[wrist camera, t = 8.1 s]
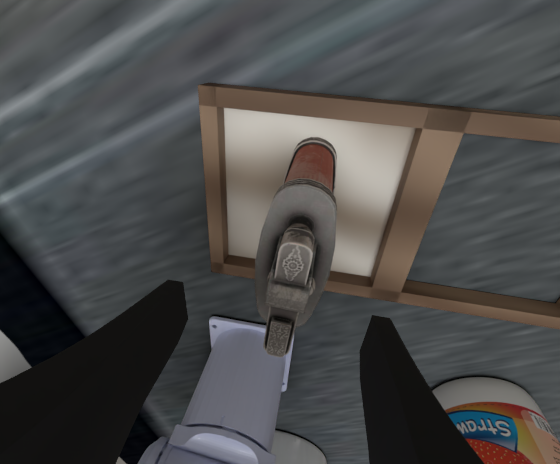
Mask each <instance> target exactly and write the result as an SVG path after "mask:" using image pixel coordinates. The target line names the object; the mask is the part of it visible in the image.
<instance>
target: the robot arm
mask: <svg viewBox="0 0 560 464" xmlns="http://www.w3.org/2000/svg"><path fill="white" fill-rule="evenodd" d="M187 320H188V315H187V308H186V301H185V293H184V286H183V282H178V281H172V280H167V281H166V282H164V283H163V284H162V285H160V286H159V287H157V288H156V289H155V290H153V291H152V292H151V293H149V294H148V295H147V296H145V297H144V298H143V299H141V300H140V301H138V302H137V303H136V304H134V305H133V306H132V307H130V308H129V309H127V310H126V311H125V312H123V313H122V314H120V315H119V316H118V317H116V318H115V319H113V320H112V321H110V322H109V323H107V324H106V325H104V326H103V327H101V328H100V329H98V330H97V331H95V332H94V333H92V334H91V335H89V336H88V337H86V338H84V339H83V340H81V341H79V342H78V343H76V344H74V345H73V346H71V347H69V348H67V349H66V350H64V351H62V352H60V353H59V354H57V355H55V356H53V357H52V358H50V359H48V360H46V361H44V362H42V363H40V364H38V365H36V366H34V367H32V368H30V369H28V370H26V371H24V372H22V373H20V374H19V375H17V376H15V377H13V378H11V379H9V380H6V381H4V382H2V383H0V464H116V462H117V459H118V457H119V455H120V453H121V450H122V448H123V446H124V443H125V441H126V439H127V437H128V435H129V432H130V430H131V428H132V426H133V424H134V422H135V420H136V417H137V415H138V413H139V411H140V409H141V407H142V405H143V403H144V402H145V400H146V398H147V396H148V394H149V393H150V391H151V389H152V387H153V386H154V384H155V382H156V381H157V379H158V377H159V375H160V374H161V372H162V370H163V368H164V367H165V365H166V363H167V361H168V360H169V358H170V356H171V354H172V353H173V351H174V349H175V347H176V345H177V344H178V341H179V339H180V337H181V335H182V332H183V330H184V327H185V325H186V322H187ZM209 327H210V338H211V349H212V351H211V353H210V356H209V358H208V360H207V363H206V365H205V368H204V370H203V372H202V375H201V377H200V380H199V382H198V384H197V387H196V389H195V391H194V394H193V396H192V399H191V401H190V403H189V406H188V408H187V411H186V413H185V415H184V418H183V420H182V423H181V425H178V424H177V425H176V426H175V428H174V430H173V433H172V435H171V437H170V439H169V438H166V437H161V438H159V439H158V440H157V441H156V442H154V443H153V444H151V445H150V446H149V447H148V448H147V449H146V451H145V452H144V454H143V456H142V457H141V459H140V461H139V462H138V464H275V460H276V455H274V454H271V451H272V445H273V439H274V433H275V427H276V421H277V415H278V408H279V402H280V396H281V391H286V388H287V381H288V375H289V368H290V361H291V354H292V347H293V340H294V335H293V339H292V343H291V347H290V351H289V353H288V354H287V355H284V356H283V357H275V356H271V355H269V354H267V352H266V351H265V349H264V348H263V343H264V337H265V331H266V325H260V324H255V323H249V322H244V321H238V320H233V319H227V318H222V317H216V316H213V317H211V318H210V320H209ZM360 383H361V391H362V400H363V408H364V416H365V425H366V433H367V441H368V450H369V462H370V464H484V462H483V461H482V460H481V458H480V457H479V456H478V455H477V453H476V452H475V451H474V450H473V448H472V447H471V446H470V444H469V443H468V442H467V440H466V439H465V438H464V436H463V435H462V434H461V432H460V431H459V430H458V428H457V427H456V426H455V424H454V423H453V421H452V420H451V419H450V417H449V416H448V414H447V413H446V411H445V410H444V409H443V407H442V406H441V404H440V403H439V401H438V400H437V398H436V397H435V395H434V394H433V392H432V390H431V389H430V387H429V386H428V384H427V383H426V381H425V379H424V378H423V376H422V374H421V373H420V371H419V369H418V368H417V366H416V364H415V363H414V361H413V359H412V358H411V356H410V354H409V352H408V351H407V349H406V347H405V345H404V343H403V341H402V340H401V338H400V336H399V334H398V332H397V330H396V328H395V326H394V324H393V323H392V321H391V319H390V318H385V317H379V316H374V315H372V318H371V321H370V323H369V326H368V329H367V332H366V335H365V338H364V341H363V343H362V346H361V349H360Z"/></svg>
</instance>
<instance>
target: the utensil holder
mask: <svg viewBox="0 0 560 464" xmlns="http://www.w3.org/2000/svg"><path fill="white" fill-rule="evenodd" d="M271 454H274V455H276V460H275V464H327V462H326V458H325V456H324V454H323V453H322V452H321V451H320V450H319V449H318V448H317V447H316V446H315V445H313V444H312V443H310V442H308V441H306V440H305V439H302V438H300V437H298V436H295V435H292V434H289V433H285V432H281V431H277V430H275V433H274V439H273V445H272V451H271Z"/></svg>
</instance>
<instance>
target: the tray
mask: <svg viewBox="0 0 560 464" xmlns="http://www.w3.org/2000/svg"><path fill="white" fill-rule="evenodd" d="M198 93H199V107H200V121H201V134H202V148H203V162H204V176H205V189H206V203H207V217H208V231H209V245H210V258H211V272H215V273H221V274H227V275H233V276H240V277H246V278H252V279H255V260H256V255H257V250H258V245H259V240H260V235H261V231H262V228H263V225H264V222H265V220H266V217H267V214H268V211H269V208H270V206H271V203H272V200H273V198H274V196H275V193H276V192H277V190H278V189H279V187H280V186H281V185H283V181H284V176H285V173H286V171H287V168H288V165H289V162H290V160H291V157H292V154H293V152H294V149H295V148H296V146H297V144H298V143H299V142H301V141H302V140H303V139H306V138H310V137H319V138H322V139H325V140H327V141H328V142H330V143H331V144H332V145H333V147H334V148H335V150H336V155H337V166H336V186H335V192H334V196H335V198H336V204H337V221H336V240H335V250H334V255H333V260H332V265H331V270H330V275H329V278H328V280H327V283H326V285H325V288H324V291H331V292H337V293H343V294H349V295H355V296H361V297H367V298H373V299H379V300H385V301H391V302H397V303H403V304H409V305H415V306H422V307H428V308H434V309H440V310H446V311H452V312H458V313H464V314H470V315H476V316H482V317H488V318H494V319H500V320H506V321H512V322H519V323H525V324H531V325H537V326H543V327H549V328H555V329H560V298H559V300H558V301H557V302H556V303H550V302H544V301H537V300H531V299H525V298H518V297H512V296H505V295H499V294H493V293H486V292H480V291H474V290H467V289H461V288H454V287H448V286H442V285H435V284H429V283H423V282H416V281H410V280H406V278H407V275H408V273H409V270H410V268H411V265H412V263H413V260H414V258H415V255H416V253H417V250H418V248H419V245H420V242H421V240H422V237H423V235H424V232H425V230H426V227H427V225H428V222H429V220H430V217H431V215H432V212H433V210H434V207H435V204H436V202H437V199H438V197H439V194H440V192H441V189H442V187H443V184H444V182H445V179H446V177H447V174H448V171H449V169H450V166H451V164H452V161H453V159H454V156H455V154H456V151H457V149H458V146H459V144H460V141H461V139H462V136H463V133H469V134H478V135H488V136H497V137H507V138H516V139H526V140H535V141H545V142H554V143H560V117H558V116H547V115H537V114H527V113H516V112H506V111H496V110H485V109H475V108H465V107H454V106H444V105H433V104H423V103H413V102H402V101H392V100H382V99H371V98H361V97H351V96H340V95H330V94H319V93H309V92H299V91H288V90H278V89H268V88H257V87H247V86H237V85H226V84H216V83H205V84H201V85H198Z"/></svg>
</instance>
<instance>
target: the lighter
mask: <svg viewBox="0 0 560 464" xmlns="http://www.w3.org/2000/svg"><path fill="white" fill-rule="evenodd" d="M336 166H337V155H336V150H335V148H334V147H333V145H332V144H331V143H330V142H328V141H327V140H325V139H322V138H319V137H310V138H306V139H303V140H302V141H301V142H299V143H298V144H297V146H296V148H295V149H294V152H293V154H292V157H291V160H290V162H289V165H288V168H287V171H286V173H285V176H284V181H283V185H281V186H280V187H279V189H278V190H277V192H276V193H275V196H274V198H273V200H272V203H271V206H270V208H269V211H268V214H267V217H266V220H265V222H264V225H263V228H262V231H261V235H260V240H259V245H258V250H257V255H256V260H255V293H256V301H257V308H258V312H259V314H260V316H261V317H262V318H263V319H264V320H265V321H267V325H266V331H265V337H264V343H263V348H264V349H265V351H266V352H267V354H269V355H271V356H275V357H283V356H284V355H287V354H288V353H289V351H290V347H291V343H292V339H293V335H294V331H295V327H299V326H301V325H304V324H305V323H306V322H307V321H308V319H309V317H310V316H311V314H312V312H313V311H314V309H315V307H316V306H317V304H318V302H319V300H320V298H321V295H322V293H323V290H324V288H325V285H326V283H327V280H328V278H329V275H330V270H331V265H332V260H333V255H334V250H335V240H336V221H337V204H336V198H335V196H334V192H335V186H336Z"/></svg>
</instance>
